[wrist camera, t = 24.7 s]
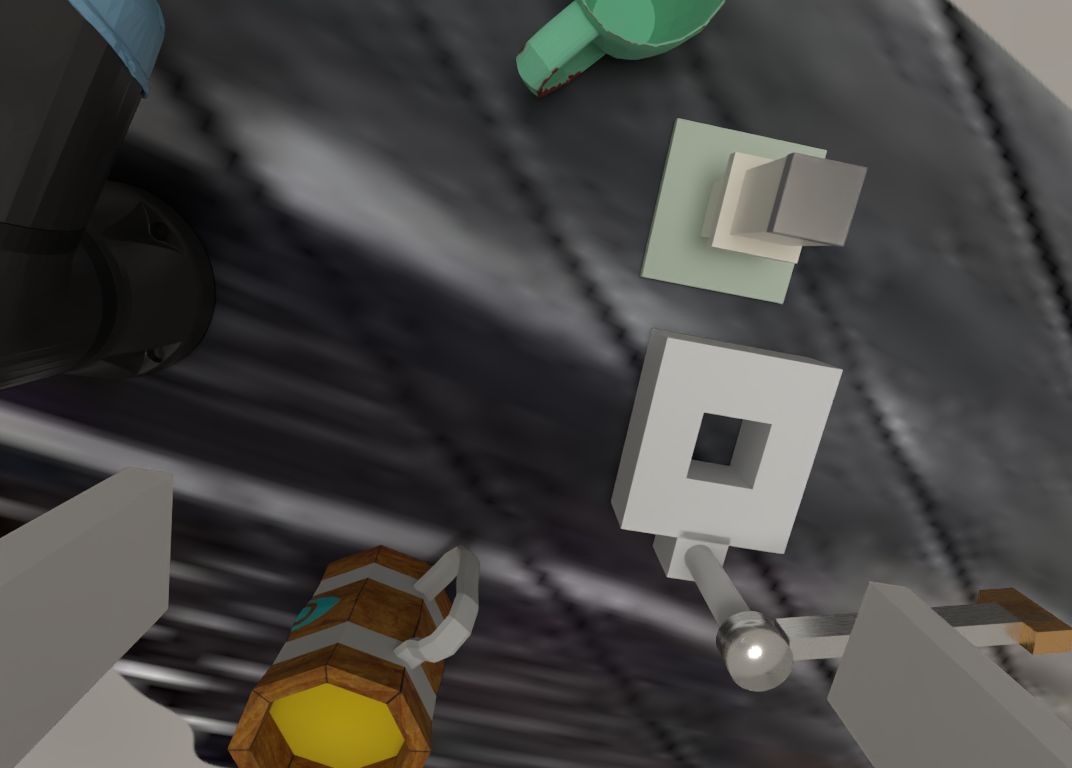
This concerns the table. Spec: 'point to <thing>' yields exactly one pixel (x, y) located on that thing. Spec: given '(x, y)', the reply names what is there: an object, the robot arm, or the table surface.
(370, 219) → the table surface
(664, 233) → the mat
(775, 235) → the plug
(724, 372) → the socket
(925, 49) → the table surface
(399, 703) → the mug
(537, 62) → the mug
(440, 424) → the table surface
